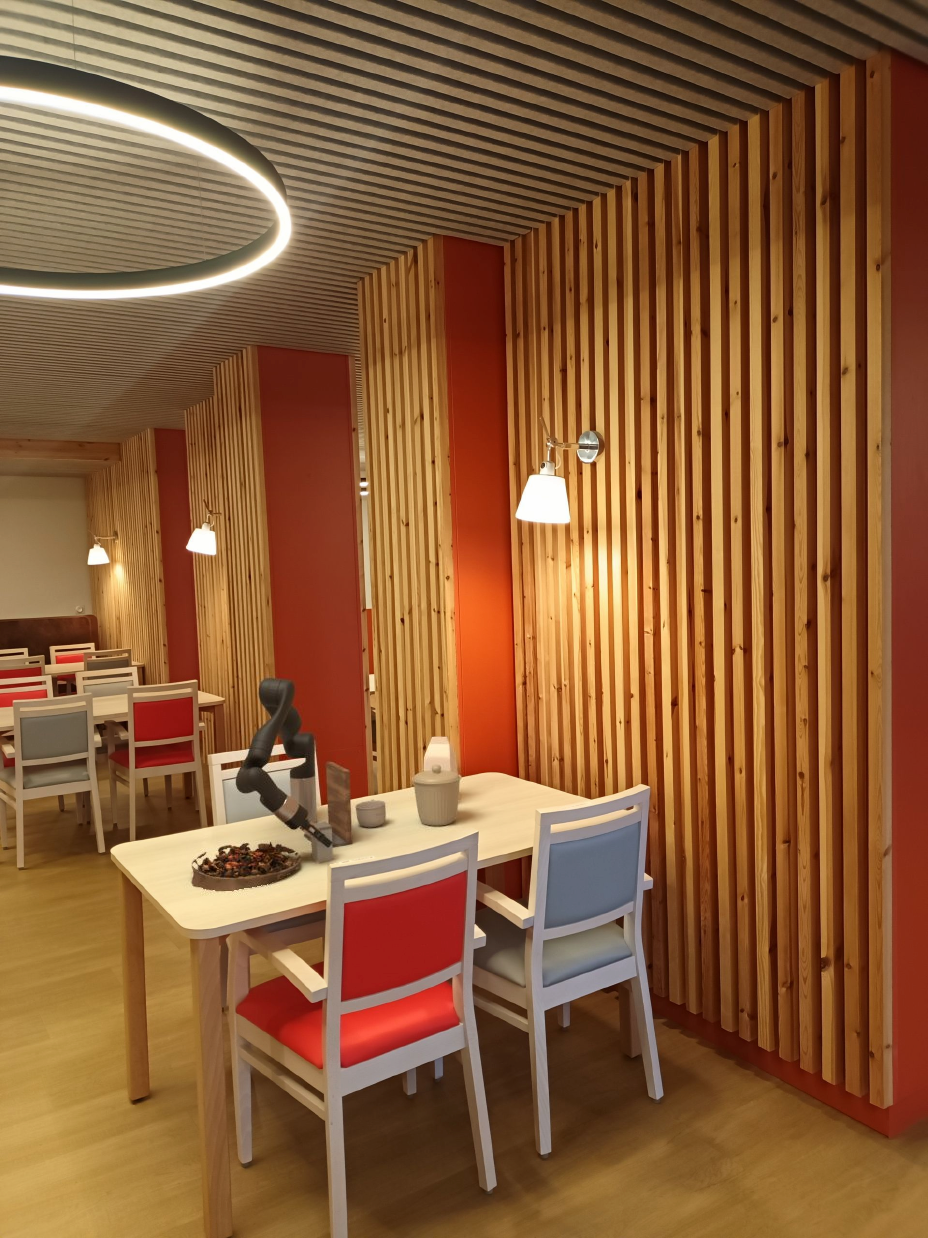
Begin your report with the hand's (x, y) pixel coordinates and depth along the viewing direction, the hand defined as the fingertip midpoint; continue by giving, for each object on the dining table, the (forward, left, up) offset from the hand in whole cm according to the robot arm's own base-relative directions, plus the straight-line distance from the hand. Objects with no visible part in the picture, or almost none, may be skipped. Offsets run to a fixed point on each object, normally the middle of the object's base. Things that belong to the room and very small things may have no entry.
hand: (326, 842), depth 292 cm
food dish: (-14, -22, -6) cm, 27 cm away
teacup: (-12, +38, -5) cm, 40 cm away
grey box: (-1, -1, -5) cm, 5 cm away
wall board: (-13, +15, -5) cm, 20 cm away
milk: (-7, +75, -5) cm, 75 cm away
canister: (+8, +51, -5) cm, 52 cm away
